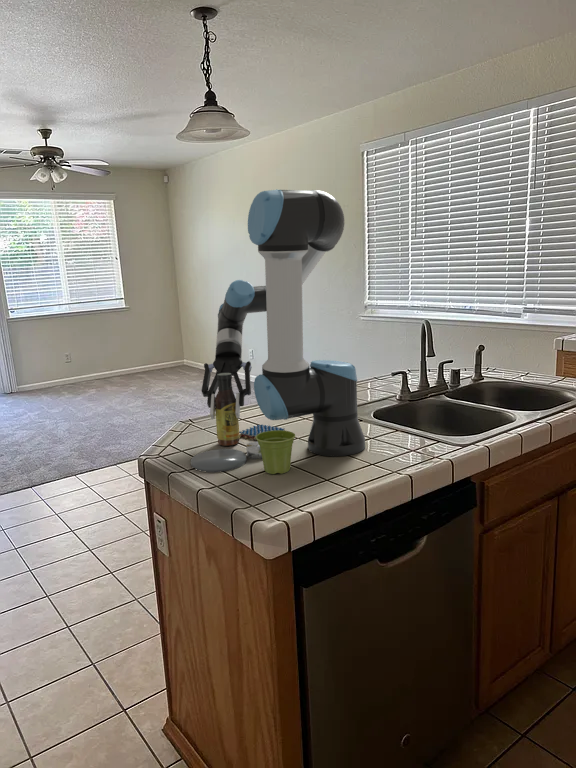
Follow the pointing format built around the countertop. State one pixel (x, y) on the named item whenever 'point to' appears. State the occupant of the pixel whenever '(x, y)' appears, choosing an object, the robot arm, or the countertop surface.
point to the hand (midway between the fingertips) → (224, 416)
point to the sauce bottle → (226, 412)
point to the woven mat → (257, 431)
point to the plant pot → (276, 450)
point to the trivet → (218, 460)
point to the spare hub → (253, 450)
